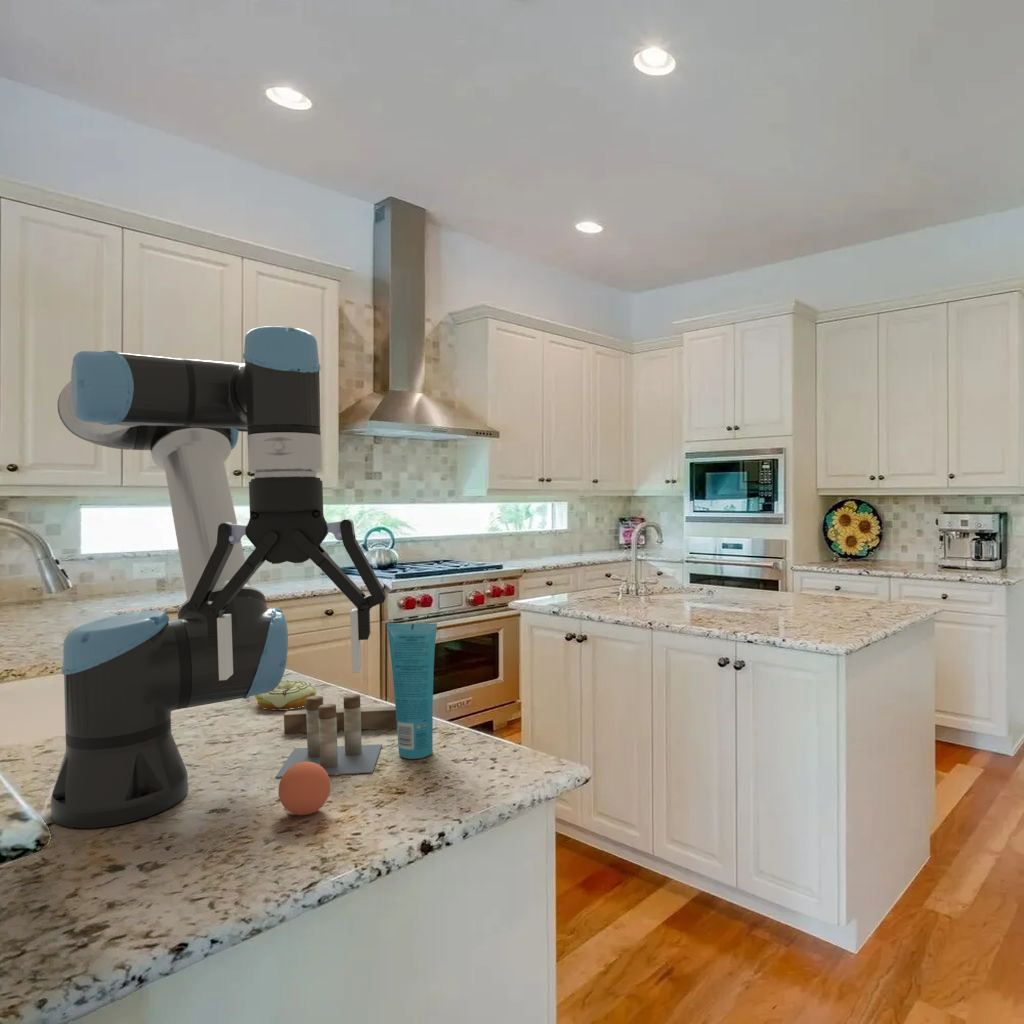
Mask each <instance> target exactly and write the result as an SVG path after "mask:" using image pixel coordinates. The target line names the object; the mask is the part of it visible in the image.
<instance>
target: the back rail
mask: <svg viewBox="0 0 1024 1024" xmlns="http://www.w3.org/2000/svg"><path fill="white" fill-rule="evenodd" d="M360 709H361V731H364V730H365V729H368V730H383V729H384V730H385V729H386V730H387V729H391V730H392V729H397V721H396V708H395V706H377V707H374V706H372V707H360ZM336 719H337V730H344V708H336ZM283 728H284V729H283V732H284V733H283V734H297V733H300V732H301V733H307V716H306V709H305V710H303V709H302V710H286V711H285V713H284V714H283ZM362 729H364V730H362Z"/></svg>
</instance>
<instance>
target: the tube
mask: <svg viewBox="0 0 1024 1024" xmlns="http://www.w3.org/2000/svg"><path fill="white" fill-rule="evenodd" d="M437 628H438V623H437V622H435V623H434V622H433V623H432V622H431V623H430V622H429V623H403V622H402V623H400V622H399V623H398V622H396V623H395V622H393V623H392V622H390V623H389V622H388V623H386V630H387V635H388V636H387V637H388V643H389V651H390V652H389V653H390V659H391V667H392V668H391V669H392V670H391V672H392V682H393V693H394V695H393V696H394V707H395V708H396V721H397V728H396V730H397V732H396V733H397V744H398V745H397V746H398V755H399V756H400V757H401V758H404V759H408V760H414V759H415V760H416V759H423V758H426V757H428V756H430V755H432V754H433V751H434V750H433V747H434V745H433V743H434V742H433V727H434V725H433V722H434V721H433V720H434V718H433V716H434V715H433V714H434V713H433V712H434V711H433V710H434V709H433V708H434V707H433V706H434V703H433V702H434V701H433V700H434V669H435V668H434V667H435V649H436V639H437V630H438V629H437Z"/></svg>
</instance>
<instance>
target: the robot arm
mask: <svg viewBox="0 0 1024 1024" xmlns="http://www.w3.org/2000/svg"><path fill="white" fill-rule="evenodd" d="M243 350H244V351H243V354H242V359H243V360H244V363H241V362H240V363H238V362H227V361H216V360H215V361H214V360H204V359H203V360H202V359H191V358H174V357H164V356H156V355H154V356H153V355H144V354H134V353H125V352H118V351H116V350H104V351H103V350H102V351H95V350H81V351H79V352H77V353H75V354H74V356H73V358H72V365H71V369H70V370H71V373H70V374H71V375H70V381H69V382H68V383H67V384H66V385H64V387H63V389H62V390H61V392H60V393H59V396H58V400H57V413H58V417H59V419H60V420H61V423H62V424H63V426H64V427H65V428H66V429H67V431H69V432H70V433H71V434H73V435H74V436H76V437H77V438H79V439H81V440H84V441H86V442H89V443H92V444H95V445H98V446H101V447H107V448H109V449H110V448H112V449H117V450H118V449H119V450H132V451H133V450H134V451H150V454H151V460H153V461H152V462H153V463H154V464H155V465H156V466H157V467H158V468H160V469H161V470H164V472H165V477H166V483H167V484H166V485H167V489H168V495H169V501H170V507H171V512H172V518H173V525H174V529H175V536H176V542H177V548H178V555H179V559H180V560H179V561H180V565H181V566H180V567H181V570H182V572H181V573H182V578H183V584H184V589H185V595H186V600H185V601H184V602H183V603H182V604H181V605H180V607H179V608H178V610H177V619H170V617H169V615H168V614H167V612H166V610H162V609H149V610H142V611H132V612H125V613H121V614H115V615H113V616H107V617H104V618H100V619H97V620H94V621H89V622H87V623H85V624H82V625H80V626H77V627H76V628H74V629H73V630H71V631H70V632H69V633H67V635H66V636H65V638H64V641H63V647H62V666H61V668H60V671H61V674H62V675H63V689H64V691H63V692H64V723H65V724H64V725H65V726H64V728H65V752H64V756H63V759H62V761H61V765H60V768H59V771H58V775H57V777H56V779H55V780H56V781H55V783H54V787H53V790H52V793H51V796H50V797H51V798H50V813H51V814H50V818H51V820H52V821H53V822H54V823H55V824H56V825H59V826H61V827H62V826H63V827H65V826H67V827H66V828H71V829H72V828H74V827H76V828H75V829H94V828H95V829H96V828H106V827H111V826H117V825H122V824H128V823H131V822H135V821H136V822H137V821H139V820H143V819H145V818H149V817H151V816H155V815H157V814H160V813H161V812H163V811H166V810H167V809H170V808H171V807H173V806H175V805H176V804H178V803H179V802H181V801H182V800H183V799H184V798H185V797H186V796H187V794H188V792H189V777H188V770H187V768H186V765H185V763H184V760H183V758H182V756H181V753H180V750H179V749H178V746H177V743H176V741H175V739H174V736H173V734H172V733H173V732H172V720H171V719H172V718H171V717H172V711H173V712H174V711H177V710H181V709H182V710H183V709H188V708H193V707H195V708H196V707H200V706H205V705H206V706H207V705H211V704H217V703H223V702H228V701H232V700H233V701H234V700H240V699H244V700H245V699H246V700H247V699H249V698H250V697H253V696H254V697H255V695H259V694H263V693H268V692H270V691H272V690H274V689H275V688H276V687H277V686H278V685H279V683H280V682H281V681H283V680H282V679H283V677H284V674H285V670H286V667H287V666H286V665H287V660H288V653H289V634H288V633H289V629H288V623H287V619H286V616H285V614H284V612H283V611H282V609H280V608H278V607H277V608H276V607H270V608H268V606H267V602H266V598H265V594H264V593H263V592H262V591H261V590H260V589H258V588H255V587H253V586H251V580H250V579H251V578H252V577H253V575H254V574H255V573H256V572H257V571H258V570H259V568H260V567H262V565H263V564H264V563H265V561H266V562H268V563H270V564H271V565H276V564H277V565H279V564H282V563H285V562H288V563H291V564H302V563H304V562H306V561H309V560H311V561H312V562H313V563H314V564H315V565H316V566H317V567H318V568H319V569H320V570H322V572H323V573H324V574H325V575H326V577H327V578H329V579H330V581H332V583H333V584H334V585H335V586H336V587H337V589H339V590H340V591H341V593H343V594H344V596H345V597H346V598H347V599H349V601H350V603H352V604H353V605H354V607H356V608H352V609H351V610H350V612H349V614H350V615H349V616H350V617H349V619H350V647H351V648H350V652H351V653H350V655H351V673H352V674H358V673H360V672H361V668H362V652H361V651H362V649H361V645H362V644H361V641H363V640H364V641H367V640H368V639H369V638H370V635H371V613H370V612H371V609H372V608H373V607H376V606H378V605H381V604H384V603H385V600H386V598H387V593H386V592H385V589H384V588H383V586H382V583H381V582H380V580H379V578H378V577H377V575H376V573H375V571H374V569H373V567H372V565H371V564H370V563H369V561H368V559H367V557H366V554H365V553H364V552H363V550H362V547H361V546H360V543H359V542H358V539H357V538H356V532H355V526H354V525H355V524H354V522H353V520H352V519H350V518H346V519H343V520H341V521H335V522H333V521H332V522H327V521H326V519H325V516H324V515H325V514H324V492H323V491H324V488H323V487H324V486H323V480H321V478H320V477H317V473H321V472H322V471H323V457H322V456H323V455H322V453H323V452H322V451H323V450H322V434H321V433H322V432H321V394H320V393H321V387H320V385H321V384H320V383H321V382H320V379H321V378H320V371H321V364H320V361H319V360H320V358H319V348H318V341H317V339H316V337H315V336H314V335H313V334H312V333H311V332H310V331H308V330H305V329H301V328H295V327H291V326H289V327H288V326H278V325H276V326H275V325H274V326H271V325H270V326H269V325H268V326H260V327H255V328H252V329H250V330H249V331H247V333H246V334H245V337H244V347H243ZM239 432H241V433H243V432H244V433H245V432H246V433H247V434H246V436H247V438H246V439H247V463H248V464H247V465H248V468H247V469H248V472H250V473H251V474H254V477H253V478H251V479H250V481H248V495H249V497H248V499H249V503H248V504H249V519H248V523H247V525H246V524H238V522H237V516H236V512H235V506H234V501H233V497H232V494H231V489H230V483H229V479H228V475H227V471H226V465H225V462H226V461H227V460H228V459H229V457H230V455H231V452H232V450H233V449H235V448H236V445H237V444H238V440H239ZM329 533H330V534H332V535H333V536H334V538H335V540H337V541H339V542H340V541H342V544H343V546H344V547H343V548H345V550H346V552H347V554H348V556H349V557H350V560H351V561H352V563H353V565H354V567H355V569H356V571H357V572H358V574H359V576H360V578H361V580H362V582H363V584H364V585H365V587H366V589H367V592H369V594H367V595H366V594H365V593H364V592H363V591H362V590H361V589H360V588H359V587H358V586H357V584H356V583H355V582H354V581H353V580H352V579H351V578H350V577H349V575H347V573H345V571H343V570H342V569H341V567H340V566H339V565H338V564H337V563H336V561H334V560H333V558H332V557H331V556H330V555H329V553H328V552H327V551H326V550H325V549H324V548H323V547H322V546H321V544H322V543H323V541H324V540H325V539H326V537H327V536H328V535H329ZM244 536H246V537H247V539H248V541H250V543H251V544H252V545H253V546H254V550H253V551H252V552H251V553H250V554H249V556H247V558H245V553H244V549H243V544H242V540H241V539H242V538H243V537H244Z"/></svg>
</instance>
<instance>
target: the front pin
mask: <svg viewBox="0 0 1024 1024" xmlns="http://www.w3.org/2000/svg"><path fill="white" fill-rule="evenodd" d="M318 708H319V741H320V766H322V767H323V768H331V767H334V766H337V765H338V753H337V746H338V731H337V719H336V709H337V704H335V703H323V705H320V706H319V707H318Z"/></svg>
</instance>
